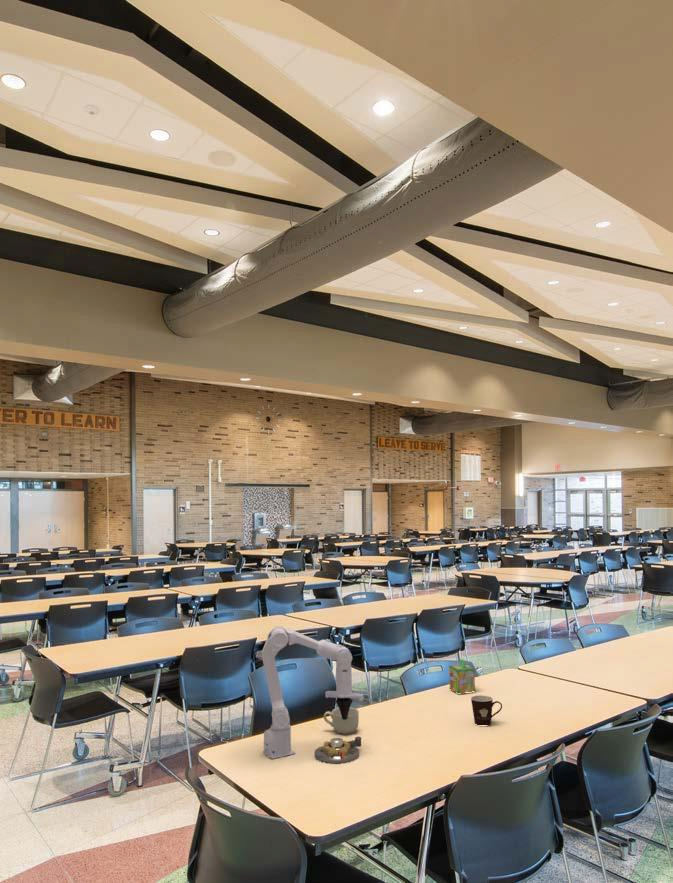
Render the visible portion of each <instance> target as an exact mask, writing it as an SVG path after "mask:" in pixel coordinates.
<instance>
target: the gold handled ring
mask: <svg viewBox="0 0 673 883" xmlns="http://www.w3.org/2000/svg"><path fill="white" fill-rule="evenodd" d="M322 746H323V753H325V754H326V755H328V756H337V757H338V756H340V752H341V751H344V755H347V754H348V753H349V752H350V748H353V747H356V748H357V747H358V748H359V747H362V737H361V736H355V737H354V740H353V739H352V740H350V741H349V740H348V741H346V740H343V747H341V748H336V746H332V748H331V744H330V741H327V740H326V741H324V742H323V745H322Z"/></svg>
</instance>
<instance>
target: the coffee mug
mask: <svg viewBox="0 0 673 883" xmlns="http://www.w3.org/2000/svg"><path fill="white" fill-rule="evenodd" d="M493 700H494V699H493V697H492V696H488V695H479V694H478V695H472V696H471V697H470V701H471V707H472V714H473V720H474V725H475V724H477V725H490V724H491V725H492V718H493V717H494V716H496V715H497V714H499V713H500V712H501V711H502V709H503V704H502V703H501V702H500V701H498V700H496V701H494V702H493ZM495 704H499V705H500V708H499V709H498V710H497V711H496V712H494V713H493V707H494V705H495ZM492 713H493V714H492ZM477 725H476V726H477ZM491 725H490V726H491Z"/></svg>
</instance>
